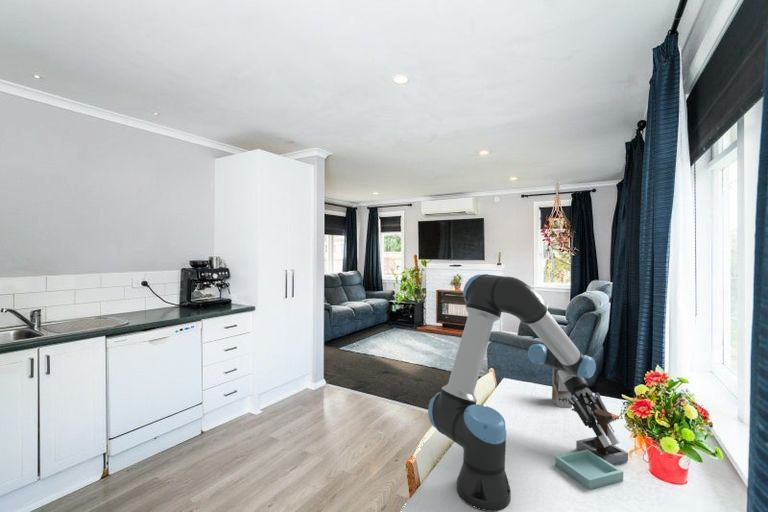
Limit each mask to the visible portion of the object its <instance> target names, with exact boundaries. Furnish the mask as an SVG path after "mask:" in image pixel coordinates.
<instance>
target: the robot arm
mask: <svg viewBox="0 0 768 512" xmlns="http://www.w3.org/2000/svg"><path fill="white" fill-rule="evenodd" d="M462 291H463V292H462V296H463V299H464V302H465V304H466V305H465V310H466V313H467V317H466V321H465V326H464V329H463V331H462V335H461V339H460V340H459V341H460V342H459V345H458V349H457V352H456V354H455V355H456V356H455V358H454V359H455V360H454V363H453V365H452V369H451V373H450V375H449V378H448V383H447V384H445V385H443V386H442V387H441V390H440V391H439V392H437V393H436V394H434V396H433V397H432V398H430V401H429V404H428V406H427V407H428V409H427V413H428V414H427V416H428V419H429V422H430V424H431V425H432V427H433V428H434V429H436V430H437V431H438V432H439V433H440V434H441V435H444V436H445V437H447V438H448V439H450V440H452V441H453V442H454V443H456V444H457V445H458V446H460V447H461V448H463V455H462V457H463V461H462V465H461V468H460V471H459V473H458V476H457V478H456V493H457V495H458V494H459V495H458V496H459V497H461V498H462V499H463V500H464V501H465V503H466V504H467V503H468V504H467V505H469V504H470V505H472V506H475V507H477V508H480V509H479V510H481V509H485V510H484V511H486V510H492V511H491V512H494V511H493V510H496V511H501V510H504V509H505V508H506V507H508V506H509V505H510V503H511V500H512V499H511V495H512V493H511V486H510V483H509V480H508V476H507V473H506V448H507V447H506V446H507V445H506V444H507V429H506V421H505V420H506V419H504V416H503V415H502V414H501V413H500V412H499V411H497V410H496V409H494V408H493V407H491V406H488V405H486V406H484V405H483V404H477V402H478V400H477V398H476V396H475V391H476V387H477V384H478V379H479V375H480V372H481V368H482V365H483V362H484V358H485V356H486V355H485V354H486V351H487V348H488V344H489V341H490V337H491V333H492V331H493V326H494V323H495V322H497V321H498V320H499V321H500V318H501V315H502V313H505V314H509V315H512V316H514V317H516V318H517V319H519V321H520V322H521V323H523V324H524V325H525V324H526V325H527V326H528V327H530V329H531V330H532V331H533V332H534V333H535V335H536V336H537V337H538V338H539V339H540V340H541V342H542V343H543V344H542V343H535V344H534V343H533V344H531V346H529V348H528V351H527V356H528V359H529V361H530V362H531V363H533V364H534V365H539V366H545V367H549V368H552V369H553V368H555V369H556V370H557V372H558V374H559V376H560V377H561V379H562V381H563V382H565V383H564V385H565V386H566V388H567V390H568V392H570V393H571V395H572V397H571V398H569V399H568V401H569V402H570V403H571V405H572V408H574V409H575V410H576V411H575V413H576V414H577V415H578V416H579V418H580V420H581V421H582V423H583V424H584V426H585V427H588V428H589V429H592V431H593V432H594V434H595V437H599V439H600V441H601V442H602V444H603V446H604V447H607V446H609V445H611V444H612V445H615V446H617V445H618V444H620V443H621V442H620V440H619V438H618V437H617V435H616V434H615V430H614V429H613V427H612V425H611V422H610V421H611V420H608V428H607V436H606V434H605V433H604V431H603V429H602V428H601V426H600V424H599V425H597V420H595V418H594V416H593V414H592V412H591V410H590V408H591V409H592V411H594V410H596V409H599V410H605V411H607V412H609V410H608V409H607V408H606V406H605V404H604V402H603V400H602V398H601V394H600V393H599V392H596V393H595V392H593V391H592V390H591V389H590V388H589V383H588V381H587V379H591V378H592V377H593V376H594V374H595V372H596V369H597V367H596V366H597V364H596V361H595V359H594V357H591V356H588V355H587V354H585V355H584V354H582V352H581V351H580V350H579V349H578V347H577V346H576V345H575V343H574V342H573V341H572V340H571V338H570V337H569V336H568V335H567V333H566V332H565V331H564V329H563V328H562V327H561V325H560V324H558V321H556V319H555V318H554V316H552V314H551V313H550V312H549V311H548V310H549V308H548V307H549V306H548V304H547V302H546V301H545V300H544V299H543V298H542V296H541V295H540V294H539V293H538V292H537V291H536V290H535V289H534V288H533V287H531V286H530V285H528V283H526V282H524V281H523V280H520V279H519V278H517V277H512V276H503V275H495V274H488V273H486V274H485V273H484V274H475V275H473V276H471V277H470V278H468V280H467V281H466V282H465V285H464V286H463V290H462ZM609 422H610V423H609ZM461 498H460V499H461ZM462 499H461V500H462ZM463 500H462V501H463ZM464 501H463V502H464ZM470 505H469V506H470ZM472 506H471V507H472ZM475 507H474V508H475ZM477 508H476V509H477Z"/></svg>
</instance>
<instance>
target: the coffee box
mask: <svg viewBox="0 0 768 512" xmlns="http://www.w3.org/2000/svg"><path fill="white" fill-rule="evenodd" d="M551 380H552V381H551V383H552V384H551V391H552V392H551V395H552V396H551V400H552V401H553V402H554V404H555V405H556V406H557V407H559V408H569V409H573V406H572V405H571V403H570V402H569V401H568V399H569V398H571V397H572V395H571V393H570V392H568V390H567V388H566V386H565V385H564V383H565V382H563V381H562V379H561V377H560V376H559V374H558V372H557V370H556V369H555V368H552V379H551Z"/></svg>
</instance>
